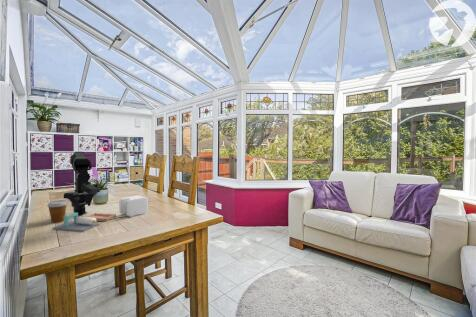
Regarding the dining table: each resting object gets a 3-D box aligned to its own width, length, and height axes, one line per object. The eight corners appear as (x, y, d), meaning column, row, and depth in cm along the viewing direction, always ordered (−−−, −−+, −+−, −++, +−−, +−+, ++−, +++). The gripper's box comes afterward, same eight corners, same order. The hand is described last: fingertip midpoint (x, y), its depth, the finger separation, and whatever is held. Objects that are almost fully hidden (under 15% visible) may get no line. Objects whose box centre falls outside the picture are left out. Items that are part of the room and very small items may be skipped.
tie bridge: (64, 226, 130) (63, 216, 129) (75, 222, 137) (75, 212, 136) (67, 226, 129) (66, 216, 129) (78, 222, 136) (78, 212, 136)
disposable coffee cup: (46, 224, 136) (45, 204, 135) (50, 220, 144) (49, 201, 144) (66, 222, 140) (65, 202, 140) (69, 218, 149) (68, 199, 148)
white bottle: (75, 219, 133) (81, 215, 136) (77, 225, 134) (82, 221, 137) (91, 220, 130) (97, 216, 134) (93, 226, 131) (98, 222, 135)
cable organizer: (126, 218, 148) (126, 200, 148) (119, 215, 155) (118, 198, 154) (148, 213, 160) (148, 196, 159) (140, 210, 167) (140, 194, 166)
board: (53, 229, 129) (52, 227, 129) (70, 222, 140) (70, 221, 140) (83, 231, 125) (83, 230, 125) (99, 225, 136) (99, 223, 136)
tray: (83, 219, 145) (83, 217, 145) (95, 215, 154) (95, 212, 154) (105, 221, 142) (105, 218, 142) (116, 217, 151) (116, 214, 151)
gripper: (79, 183, 119) (80, 213, 120) (107, 178, 137) (108, 204, 138) (62, 182, 121) (63, 212, 122) (91, 177, 140) (92, 203, 141)
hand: (83, 207), depth 131 cm, fingers open, 7 cm apart
